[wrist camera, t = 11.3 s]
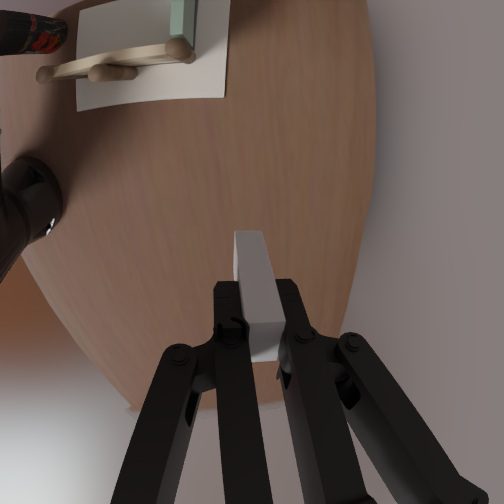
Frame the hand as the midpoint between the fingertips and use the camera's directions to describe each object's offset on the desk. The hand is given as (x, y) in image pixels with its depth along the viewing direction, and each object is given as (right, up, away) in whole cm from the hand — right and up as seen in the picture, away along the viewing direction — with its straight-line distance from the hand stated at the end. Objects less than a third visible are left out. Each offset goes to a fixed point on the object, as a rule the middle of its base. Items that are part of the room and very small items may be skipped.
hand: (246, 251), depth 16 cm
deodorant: (-29, +32, +6) cm, 44 cm away
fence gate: (-8, +32, +8) cm, 34 cm away
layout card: (-14, +28, +11) cm, 33 cm away
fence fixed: (-16, +25, +12) cm, 32 cm away
